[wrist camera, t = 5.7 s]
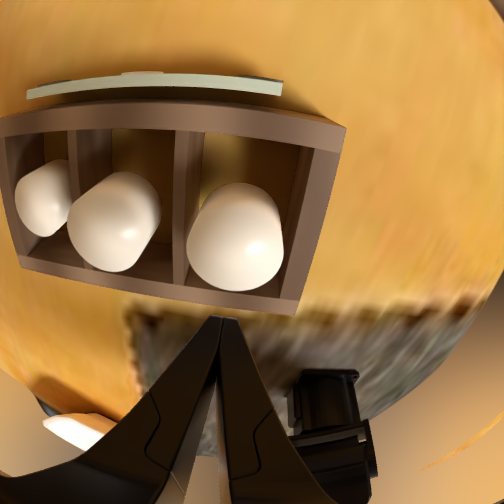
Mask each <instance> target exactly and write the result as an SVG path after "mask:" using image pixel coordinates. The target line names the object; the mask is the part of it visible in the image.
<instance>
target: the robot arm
mask: <svg viewBox="0 0 504 504" xmlns="http://www.w3.org/2000/svg"><path fill="white" fill-rule="evenodd" d="M216 377H217V379H216ZM359 377H360V376H359V372H339V371H307V370H306V371H302V372H301V373H300V375H299V377H298V379H297V381H296V383H295V384H294V385H293V386H292V387H291V389H290V391H289V393H288V395H287V405H288V426H289V427H290V428H294V435H293V436H287V434H286V432H285V430H284V428H283V426H282V424H281V422H280V420H279V417H278V415H277V413H276V410H275V409H274V406H273V404H272V401H271V399H270V397H269V394H268V392H267V390H266V387H265V385H264V383H263V380H262V378H261V375H260V373H259V371H258V368H257V366H256V363H255V361H254V358H253V356H252V353H251V351H250V348H249V346H248V344H247V341H246V339H245V336H244V333H243V331H242V328H241V326H240V323H239V321H238V319H237V318H231V317H225V318H224V320H223V317H222V316H216V315H210V316H209V317H208V318H207V319H206V321H205V322H204V323H203V324H202V325H201V327H200V328H199V329H198V330H197V332H196V333H195V334H194V335H193V336H192V338H191V339H190V340H189V341H188V342H187V344H186V345H185V346H184V347H183V349H182V350H181V351H180V352H179V353H178V355H177V356H176V357H175V358H174V360H173V361H172V362H171V363H170V364H169V366H168V367H167V368H166V369H165V370H164V372H163V373H162V374H161V375H160V377H159V378H158V379H157V380H156V381H155V383H154V384H153V385H152V386H151V387H150V389H149V392H148V391H147V392H146V393H145V394H144V396H143V397H142V398H141V399H140V401H139V402H138V403H137V404H136V405H135V406H134V407H133V408H132V409H131V411H130V412H129V413H128V414H127V415H126V416H125V417H124V418H123V419H122V420H120V421H119V422H118V423H117V424H116V425H115V426H114V427H113V428H112V429H111V430H110V431H108V432H107V433H106V434H105V435H104V436H103V437H102V438H101V439H99V440H98V441H97V442H96V443H95V444H94V445H93V446H91V447H90V448H89V449H88V450H87V451H85V452H84V453H83V454H81V455H80V456H78V457H76V458H75V459H72V460H70V461H68V462H65V463H62V464H59V465H56V466H53V467H50V468H47V469H44V470H40V471H37V472H34V473H30V474H27V475H23V476H19V477H11V476H10V475H8V474H6V473H4V472H2V471H1V470H0V504H183V502H184V499H185V495H186V491H187V487H188V484H189V480H190V476H191V472H192V469H193V465H194V462H195V458H196V454H197V450H198V447H199V443H200V439H201V436H202V432H203V428H204V424H205V421H206V417H207V413H208V410H209V406H210V402H211V399H212V395H213V391H214V387H215V383H216V414H217V449H218V473H219V492H220V504H368V502H369V500H370V498H371V496H372V493H371V484H370V479H371V478H374V477H377V476H378V472H377V464H376V457H375V451H374V446H373V440H372V435H371V431H370V425H369V421H368V419H365V420H363V421H361V419H360V413H359V408H358V403H357V398H356V393H355V388H354V384H355V382H356V381H357V380H358V378H359ZM363 439H366V441H364V442H360V443H359V440H363ZM494 504H504V499H502V500H500V501H498V502H496V503H494Z"/></svg>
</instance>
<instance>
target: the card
mask: <svg viewBox="0 0 504 504" xmlns="http://www.w3.org/2000/svg"><path fill="white" fill-rule="evenodd" d="M134 86H187V87H207V88H220V89H231V90H241V91H249V92H257V93H264V94H271V95H277V96H281V92H282V86H283V81H280V80H276V79H270V78H264V77H256V76H247V75H237V77H231V76H219V75H203V74H163V72H157V71H145V72H126V73H121V75H119V76H107V77H98V78H89V79H82V80H75V81H72V80H64V81H57V82H51V83H46V84H42V85H38V88H33V89H29V90H27V100H28V99H33V98H38V97H43V96H49V95H54V94H61V93H67V92H74V91H82V90H91V89H102V88H115V87H134Z"/></svg>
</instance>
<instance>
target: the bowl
mask: <svg viewBox="0 0 504 504" xmlns="http://www.w3.org/2000/svg"><path fill="white" fill-rule="evenodd" d="M116 424H117V423H116V422H114V421H112V420H110V419H108V418H106V417H104V416H102V415H99V414H97V413H89V414H79V413H72V414H63V415H56V416H53V417H50V418H47V419H45V420H43V425H44V426H45V427H46V428H47V429H49V430H50V431H52V432H53V433H55V434H56V435H58V436H59V437H61V438H63V439H64V440H66V441H68V442H70V443H71V444H73V445H75V446H77V447H78V448H80V449H82V450H84V451H87V450H88V449H89V448H90V447H91V446H93V445H94V444H95V443H96V442H97V441H98V440H99V439H101V438H102V437H103V436H104V435H105V434H106V433H107V432H108V431H110V430H111V429H112V428H113V427H114V426H115V425H116Z"/></svg>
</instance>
